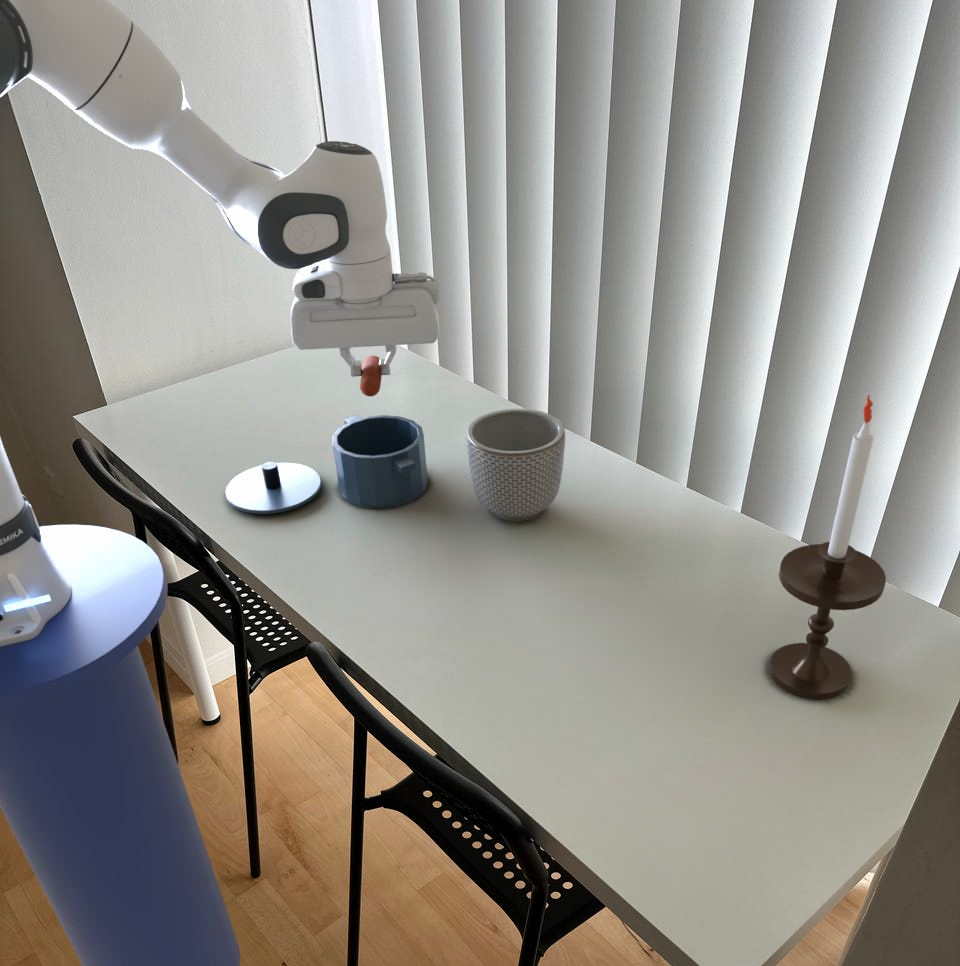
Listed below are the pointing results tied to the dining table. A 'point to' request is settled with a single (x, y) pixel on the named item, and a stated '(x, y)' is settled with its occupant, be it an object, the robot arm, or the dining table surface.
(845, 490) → the candlestick
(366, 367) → the sausage
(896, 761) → the dining table surface
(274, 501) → the lid
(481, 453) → the planter
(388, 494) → the pot
